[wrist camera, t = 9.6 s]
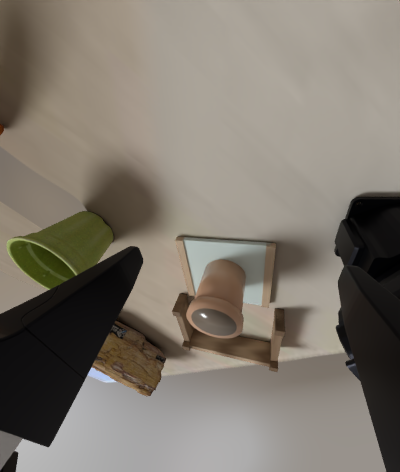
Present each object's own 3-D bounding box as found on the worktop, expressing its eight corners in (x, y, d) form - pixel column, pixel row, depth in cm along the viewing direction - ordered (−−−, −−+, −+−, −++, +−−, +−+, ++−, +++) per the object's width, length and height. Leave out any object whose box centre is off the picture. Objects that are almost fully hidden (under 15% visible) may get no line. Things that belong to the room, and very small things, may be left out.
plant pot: (121, 211, 26) (71, 255, 20) (126, 260, 32) (89, 306, 26) (59, 191, 27) (-10, 226, 20) (75, 242, 33) (26, 282, 27)
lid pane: (275, 243, 23) (275, 247, 22) (268, 303, 29) (268, 307, 28) (177, 236, 26) (175, 240, 25) (190, 291, 32) (189, 295, 32)
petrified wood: (175, 351, 48) (154, 401, 42) (156, 348, 58) (137, 389, 52) (104, 310, 44) (69, 359, 38) (96, 315, 54) (68, 354, 48)
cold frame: (283, 309, 29) (285, 336, 26) (276, 346, 35) (277, 372, 32) (179, 293, 34) (170, 314, 31) (190, 328, 40) (183, 349, 37)
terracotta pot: (248, 260, 24) (242, 311, 19) (248, 292, 28) (242, 343, 23) (200, 255, 26) (181, 300, 21) (205, 286, 30) (190, 332, 24)
